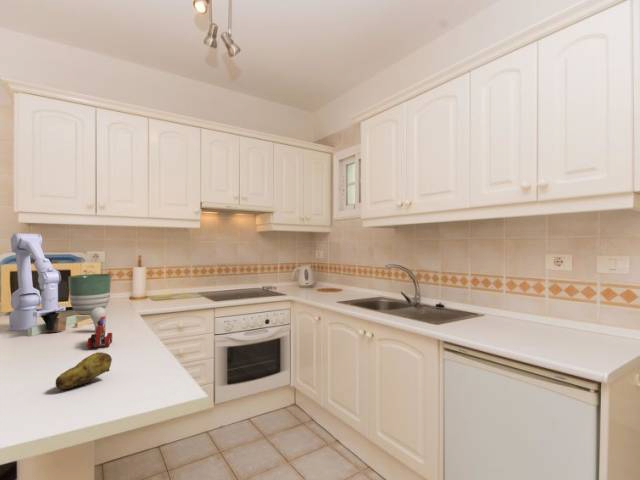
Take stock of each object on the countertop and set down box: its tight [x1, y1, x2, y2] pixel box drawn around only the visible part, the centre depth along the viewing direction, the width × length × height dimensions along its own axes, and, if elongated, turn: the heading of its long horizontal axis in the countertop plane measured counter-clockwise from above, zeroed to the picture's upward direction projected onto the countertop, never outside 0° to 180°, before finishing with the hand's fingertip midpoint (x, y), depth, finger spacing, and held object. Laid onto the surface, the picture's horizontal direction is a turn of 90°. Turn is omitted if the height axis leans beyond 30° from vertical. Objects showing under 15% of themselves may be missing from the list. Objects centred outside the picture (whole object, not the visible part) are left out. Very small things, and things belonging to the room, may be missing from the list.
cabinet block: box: [45, 314, 68, 333], centre depth 153 cm, size 5×5×7 cm
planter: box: [68, 273, 112, 315], centre depth 189 cm, size 20×20×21 cm
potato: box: [55, 351, 113, 390], centre depth 96 cm, size 8×13×8 cm, turn 122°
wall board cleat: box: [27, 314, 94, 337], centre depth 158 cm, size 10×26×4 cm, turn 176°
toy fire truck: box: [86, 316, 113, 350], centre depth 132 cm, size 7×12×10 cm, turn 23°
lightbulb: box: [90, 307, 108, 331], centre depth 151 cm, size 6×6×11 cm
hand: (50, 330), depth 150 cm, fingers closed, pressing on cabinet block
